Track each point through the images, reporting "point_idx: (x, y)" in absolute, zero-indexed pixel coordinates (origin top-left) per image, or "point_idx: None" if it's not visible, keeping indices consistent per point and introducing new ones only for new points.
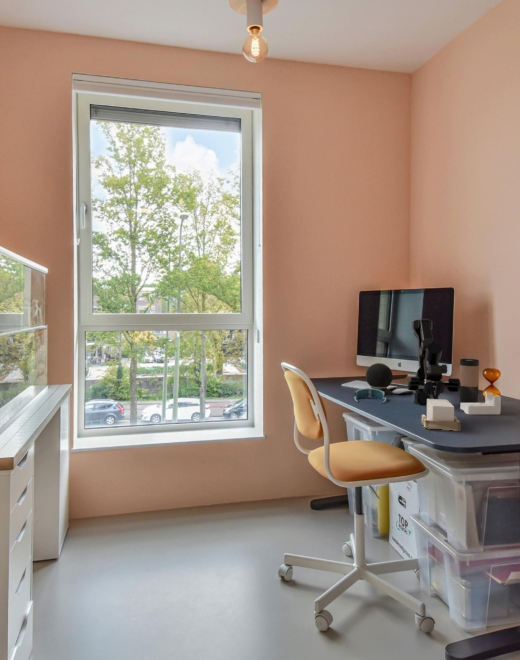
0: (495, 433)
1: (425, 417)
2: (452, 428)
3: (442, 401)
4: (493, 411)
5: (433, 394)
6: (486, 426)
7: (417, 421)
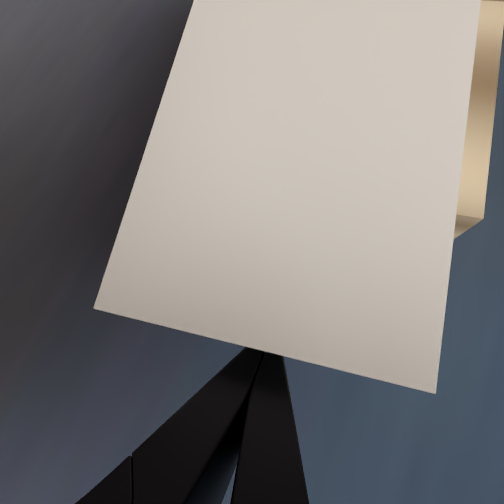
0: (68, 4)
1: (475, 94)
2: None
3: (239, 138)
4: None
5: (272, 471)
6: (13, 151)
7: (476, 290)
